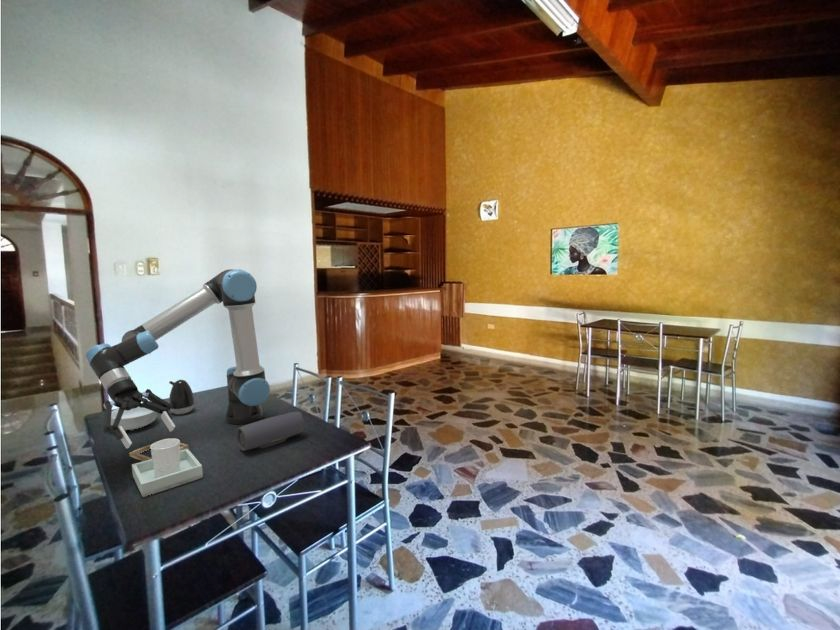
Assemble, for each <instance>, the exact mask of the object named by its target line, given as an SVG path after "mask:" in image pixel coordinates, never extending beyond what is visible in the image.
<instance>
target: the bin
mask: <svg viewBox="0 0 840 630" xmlns="http://www.w3.org/2000/svg"><path fill="white" fill-rule="evenodd" d="M131 470H132V471H131V472H132V478H133V480H134V482H135V484H136V486H137V488H138V490H139V493H140V494H141V496H142V498H146V497H148V495H149V496H152V495H154V494H156V493H160V492H164V491H166V490H170V489H172V488H175V487H178V486H181V485H184V484H188V483H191V482H193V481H197V480H199V479H203V477H204V474H203V473H204V472H203V464H201V463H200V462H199V460H198V459H197V458H196V456H195V455H194V454H193V453H192V452H191V450H189V449H186V450H182V451H180V471H178V472H175V473H172V474H169V475H165V476H162V477H159V478H156V477H155V472H154V468H153V462H152V459H150V460H146V461H139V462H136V463H132V464H131ZM151 494H152V495H151Z"/></svg>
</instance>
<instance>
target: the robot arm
mask: <svg viewBox="0 0 840 630" xmlns="http://www.w3.org/2000/svg"><path fill="white" fill-rule="evenodd" d="M256 293H257V281H256V279H255V277H254V276H253V275H252V274H251V273H250V272H247V271H246V270H244V269H243V270H242V269H233V268H231V269H225V270H223V271H221V272H220V273H218V274H216V275H215V276H214V277H212V278H211V279H210V280H208V281H207V282H205V283H204V284H203V285H202V288H200V289H199V290H197V291H194V292H193V293H192V294H190V295H189V296H187V297H185V298H183V299H182V300H180V301H179V302H177V303H175V304H174V305H172V306H169V308H167V309H165V310H163V311H162V312H160V313H158V314H157V315H155V316H154V317H152V318H151V319H149V320H147V321H146V322H144V323H142V324H141V325H138V326H137V327H136V328H134V329H131V330H128V331H126V332H125V333H124V334H123V335H122V337H121V342H119V343H117V344H115V345H112V346H111V345H110V344H108V343H101V344H96V345H94V346H91V347H90V348H89V349H88V350H87V351H86V353H85V357H86V360H87V362H88V365H89V366H90V367H91V369H92V371H93V372H94V374H95V375H96V377H97V378H98V380H99V382H100V383H101V385H102V387H103V388H104V390H105V391H106V393H107V395H108V396H109V398H110V400H111V401H110V400H108V399H107V400H105V401H104V403H103V405H102V408H103V410H104V411H103V412H104V414H103V416H104V417H103V427H102V432H103V433H105V434H106V433H108V432H109V433H110V434H113V435H114V437H115V438H116V439H117V441H119V440H120V441H121V443H122V444H123V445H124V447H125V449H129V448H130V447H131V445H132V444H133V442H132V440H131V439H130V437H129V436H128V434H127V433H126V430H124V429H123V427H122V426H120V427H119V428H118V425H119V423H120V420H121V417H122V415H123V412H124V410H127V411H128V410H131V409H134V408H137V407H141V408H146V409H149V410H152V411H154V412H157V413H158V414H160V418H161V420H162V421H163V423H164V424H165V426H166V427H167V429H168V431H169V432H170V433H172V432H173V431H174V429H175V428H176V424H175V423H174V422H173V415H172V414H170V411H171V407H172V405H171V404H169V401H166V400H164V399H163V398H161V397H159V396H158V395H156V394H154V393H153V391H152V390H151V389H150V388H147V389H146V390H145V391H143V392H140V390H139V389H138V386H137V385H136V383H135V382H134V380H133V379H132V376H131V375H130V373H129V372H128V371H127V369H126V366H127V365H129V364H130V363H133V362H135V361H137V360H139V359H142V358H143V357H145V356H147V355H149V354H151V353H152V352H154V351H156V350H158V348H159V344H158V342H157V340H159V339H161V338H162V337H164V336H165V335H167V334H168V333H169V332H171V331H173V330H175V329H176V328H178V327H180V326H181V325H183V324H184V323H186V322H188V321H189V320H190V319H192V318H194V317H195V316H197V315H198V314H200V313H201V312H203V311H205V310H207V309H208V308H210V307H212V306H213V305H214V304H215V305H216V304H218V305H219V304H221V303H222V304H223V305H222V306H223V307H224V308H225V309H227V310H228V315H229V316H228V317H229V323H230V331H231V336H232V344H233V351H234V358H235V365H236V366H231V367H229V368H228V369H226V381H227V382H226V383H227V385H226V386H227V396H228V397H227V398H228V400H227V401H228V403H227V407H226V411H225V413H224V421H225V422H226V423H228V424H229V425H230V424H231V425H243V424H251V423H254V422H257V421H259V420H261V419H262V417H263V416H264V414H263V413H264V412H263V408H262V406H261V404H263V403H264V402H265V401H266V400H267V399H268V397H269V395H270V393H271V388H270V384H269V382H268V381H267V380H266V373H265V368H264V367H263V366H261V365H260V357H259V350H258V344H257V336H256V328H255V319H254V312H253V307H254V305H255V304H256V295H255V294H256ZM113 407H117V408H118V409H119V410H118V413H117V416H116V418H115V421H114V423H113V425H111V413H112V411H113V410H112V409H113Z"/></svg>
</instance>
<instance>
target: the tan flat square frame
mask: <svg viewBox="0 0 840 630" xmlns="http://www.w3.org/2000/svg"><path fill="white" fill-rule="evenodd" d="M164 439H168V438H167V437H165V438H162V440H164ZM152 444H153V443H151V444H148V445H146V446H142V447H140V448H137V449H135V450H132V451H130V452H128V455H129V458H133V459H135V460H139V461H140V460H141V461H140V462H143V461H146V460H150V459H152V457H150V456H147V455H144V454H142V452H143V453H145V452H144V451H146V452H148V451H150V450H149V449H150V446H151V445H152ZM186 449H188V450H189V444H186V443H182V442H180V451H182V450H186ZM147 450H148V451H147ZM140 453H141V454H140Z"/></svg>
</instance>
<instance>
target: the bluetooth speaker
mask: <svg viewBox="0 0 840 630" xmlns="http://www.w3.org/2000/svg"><path fill="white" fill-rule="evenodd" d="M305 428H306V425H305V420H304V418H303V414H302V413H301V412H300V411H292V412H286V413H282V414H280V415H279V414H278V415H275V416H271V417H267V418H265V419H259V420H256V421H253V422H250V423H247V424H245V425H242V426H241V427H237V430H236V431H237V432H236V441H237V444H238V447H239V449H240V450H242V451H243V452H244V451H249V450H253V449H257V448H258V449H265V448H268V447H271V446H274V445H275V446H276V445H279V444H281V443H284V442H286V441H287V439H289V438H291V437H294V436H297V435H299V434H302V433H303V432H304V430H305Z"/></svg>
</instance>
